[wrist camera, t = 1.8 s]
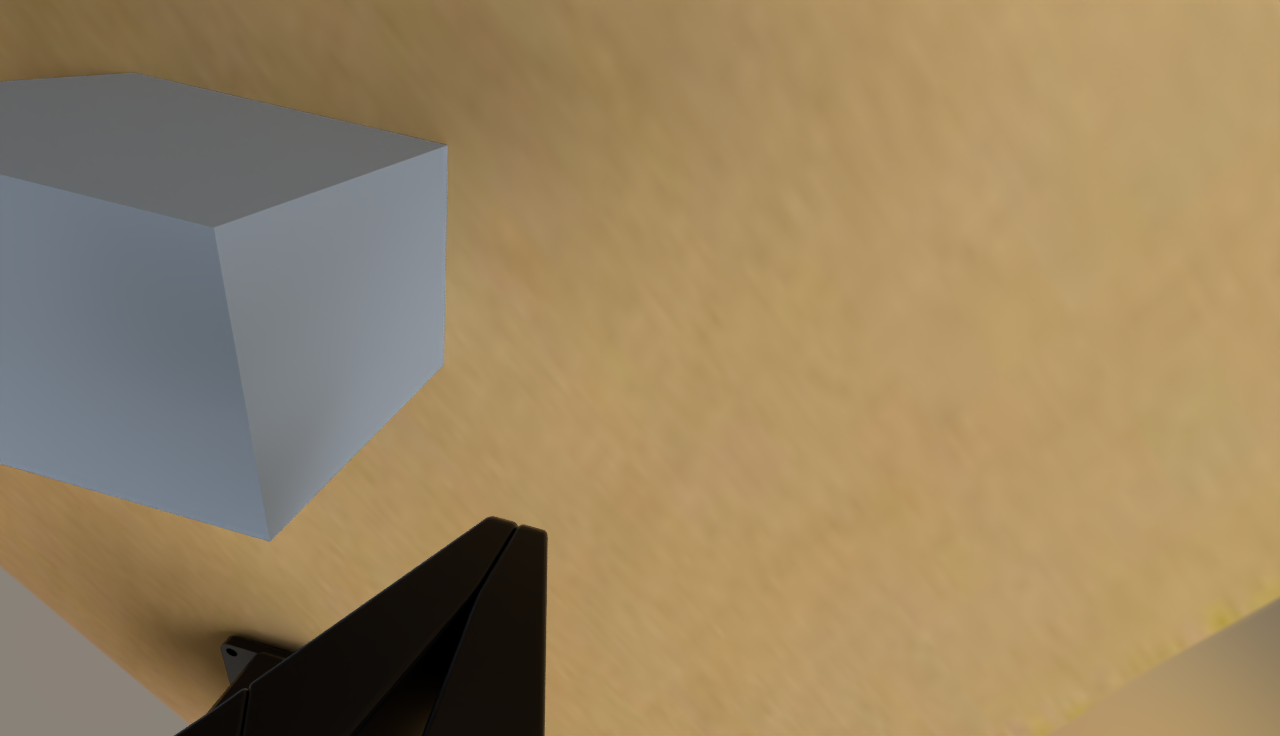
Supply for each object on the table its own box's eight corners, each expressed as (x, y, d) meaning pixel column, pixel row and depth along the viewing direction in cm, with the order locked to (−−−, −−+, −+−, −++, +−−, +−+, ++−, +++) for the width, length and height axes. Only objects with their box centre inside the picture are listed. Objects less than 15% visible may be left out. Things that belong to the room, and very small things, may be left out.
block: (444, 363, 17) (269, 541, 11) (186, 296, 18) (-112, 431, 12) (449, 144, 14) (214, 227, 8) (137, 72, 15) (-296, 100, 9)
